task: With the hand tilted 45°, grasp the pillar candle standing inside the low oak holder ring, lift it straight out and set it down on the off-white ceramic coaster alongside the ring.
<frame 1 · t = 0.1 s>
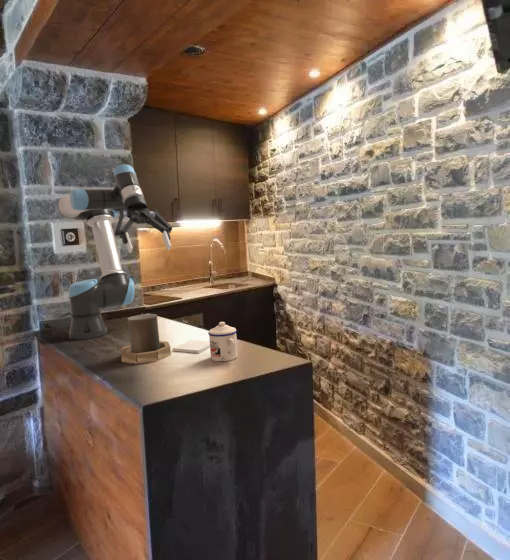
hand: (150, 249, 148), 36 cm above the countertop, tool tilted 35°, fingers open, 13 cm apart
coaster: (194, 347, 154), on the countertop
holder ring: (146, 355, 147), on the countertop
pillar candle: (146, 356, 147), resting in holder ring
teacup with lid: (226, 359, 138), on the countertop
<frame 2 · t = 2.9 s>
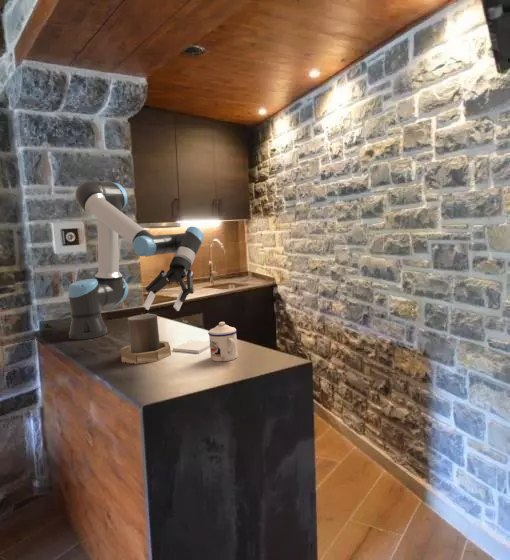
hand: (160, 308, 153), 15 cm above the countertop, tool tilted 45°, fingers open, 13 cm apart
nothing on the countertop moved.
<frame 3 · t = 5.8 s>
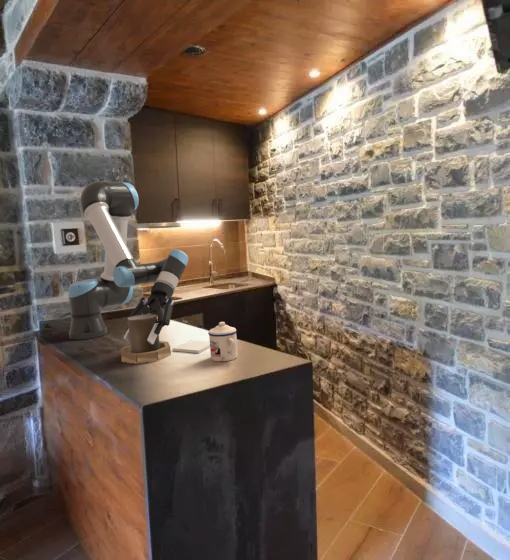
hand: (138, 341, 144), 6 cm above the countertop, tool tilted 45°, fingers closed on pillar candle, 9 cm apart
pillar candle: (146, 356, 147), resting in holder ring, touching gripper
everything else where it was.
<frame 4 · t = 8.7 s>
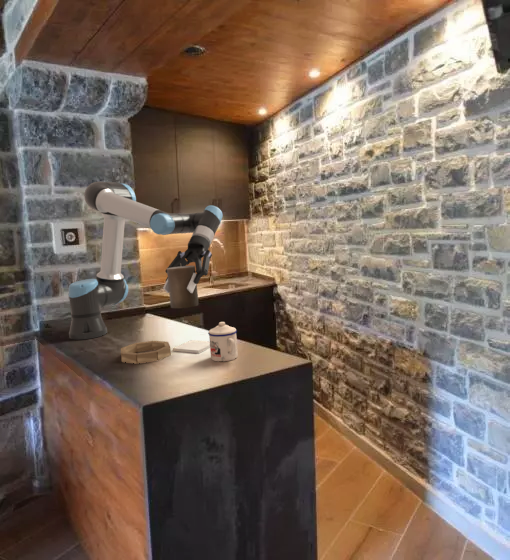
hand: (177, 290, 147), 21 cm above the countertop, tool tilted 45°, fingers closed on pillar candle, 9 cm apart
pillar candle: (184, 306, 150), point 15 cm above the countertop, touching gripper
everything else where it was.
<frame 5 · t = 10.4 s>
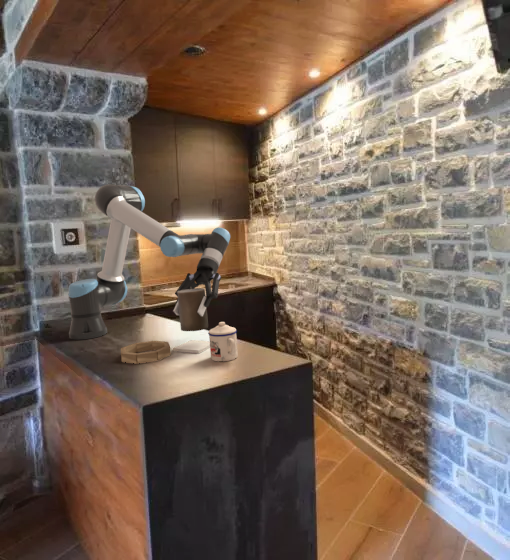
hand: (187, 313, 149), 13 cm above the countertop, tool tilted 45°, fingers closed on pillar candle, 9 cm apart
pillar candle: (194, 328, 153), point 7 cm above the countertop, touching gripper
everything else where it was.
when the fingers open (8 cm above the countertop, at t = 11.8 s): pillar candle drops 1 cm, resting on coaster.
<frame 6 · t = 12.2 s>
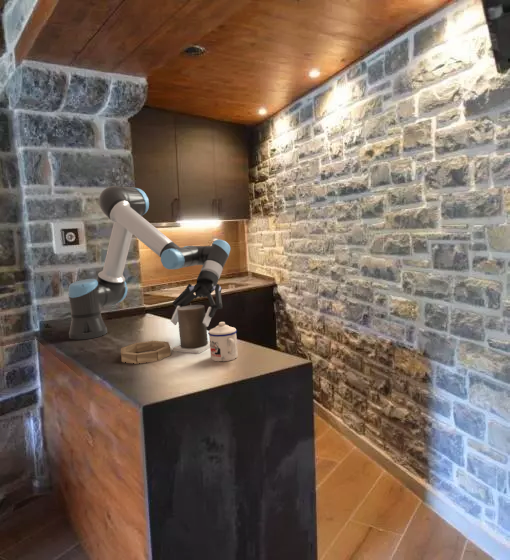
hand: (188, 323, 151), 9 cm above the countertop, tool tilted 45°, fingers open, 13 cm apart
pillar candle: (194, 345, 154), point 1 cm above the countertop, touching coaster
everything else where it was.
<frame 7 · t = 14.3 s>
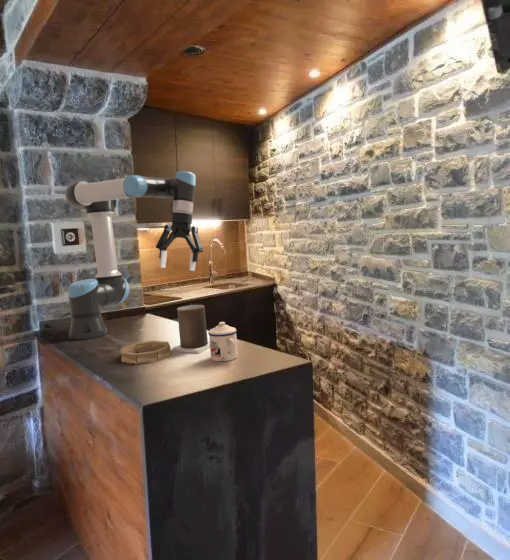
hand: (177, 269, 164), 27 cm above the countertop, tool pointing down, fingers open, 13 cm apart
nothing on the countertop moved.
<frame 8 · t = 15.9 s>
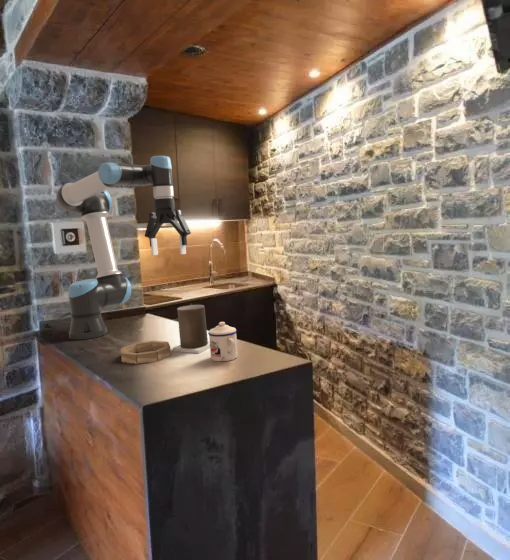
hand: (169, 254, 166), 33 cm above the countertop, tool pointing down, fingers open, 13 cm apart
nothing on the countertop moved.
at the end: pillar candle inside the target area on the coaster (0.3 cm from its centre), point 0.8 cm above the coaster's base; pillar candle tilted 0°; the gripper is holding nothing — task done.
